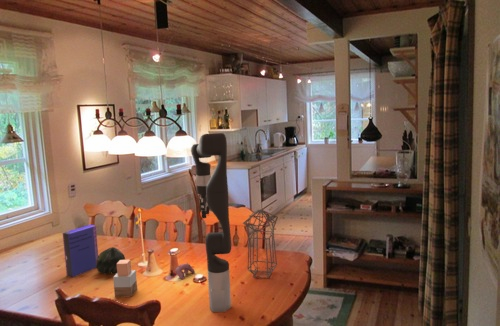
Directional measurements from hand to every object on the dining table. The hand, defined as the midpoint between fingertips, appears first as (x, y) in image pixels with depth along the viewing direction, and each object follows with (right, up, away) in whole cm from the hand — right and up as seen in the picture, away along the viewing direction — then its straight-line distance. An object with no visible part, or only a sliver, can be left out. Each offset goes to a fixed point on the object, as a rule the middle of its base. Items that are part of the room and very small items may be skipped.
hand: (205, 216), depth 204 cm
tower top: (-37, -31, -9) cm, 49 cm away
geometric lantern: (+29, -32, +6) cm, 43 cm away
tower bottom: (-37, -36, -8) cm, 52 cm away
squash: (-54, -34, +20) cm, 66 cm away
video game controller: (-12, -33, +11) cm, 37 cm away
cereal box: (-70, -34, +23) cm, 81 cm away
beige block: (-37, -26, -10) cm, 47 cm away
